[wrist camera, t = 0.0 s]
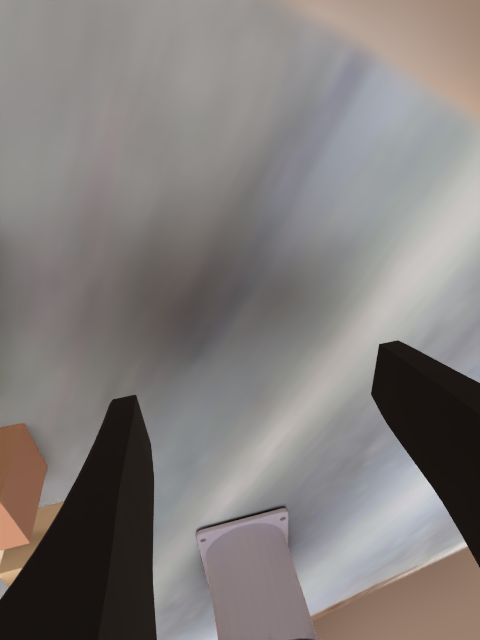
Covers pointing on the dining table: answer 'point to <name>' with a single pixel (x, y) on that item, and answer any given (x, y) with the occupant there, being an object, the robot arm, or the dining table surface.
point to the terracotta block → (19, 485)
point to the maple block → (19, 555)
